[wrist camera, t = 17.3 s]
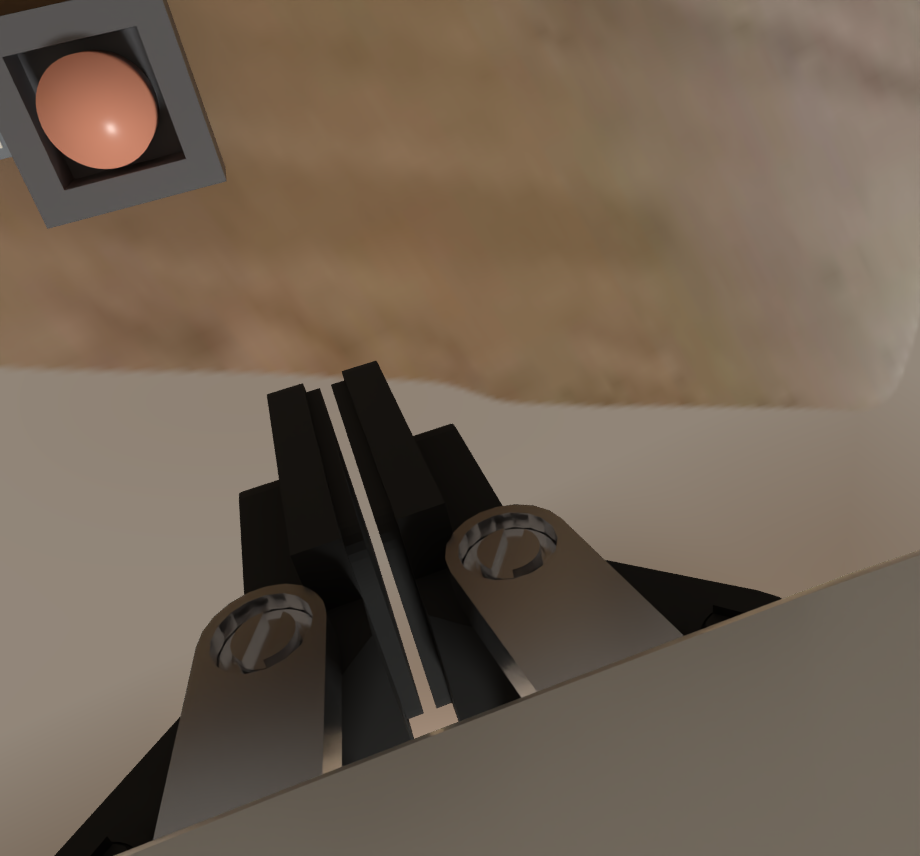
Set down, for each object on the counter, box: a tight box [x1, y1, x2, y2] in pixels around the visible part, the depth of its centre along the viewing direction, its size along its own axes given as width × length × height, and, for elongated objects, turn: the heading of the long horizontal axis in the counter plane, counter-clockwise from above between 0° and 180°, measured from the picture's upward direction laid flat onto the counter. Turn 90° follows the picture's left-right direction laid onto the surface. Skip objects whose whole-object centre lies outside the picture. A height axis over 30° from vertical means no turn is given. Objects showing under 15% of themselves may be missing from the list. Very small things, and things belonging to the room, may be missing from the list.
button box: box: [0, 0, 226, 229], centre depth 30 cm, size 7×7×4 cm
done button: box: [36, 50, 159, 169], centre depth 29 cm, size 4×4×3 cm
